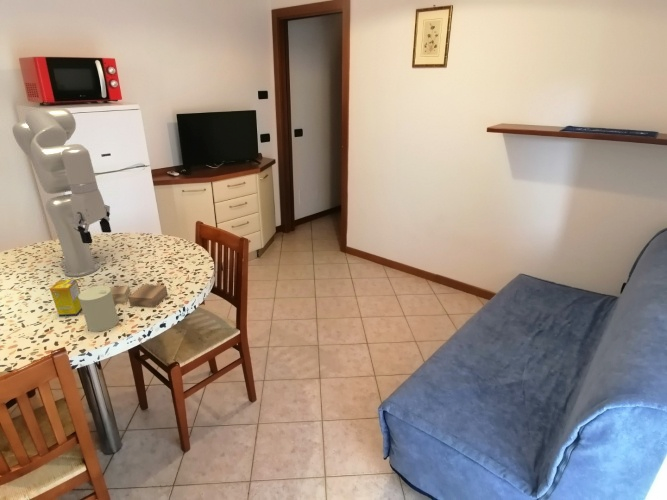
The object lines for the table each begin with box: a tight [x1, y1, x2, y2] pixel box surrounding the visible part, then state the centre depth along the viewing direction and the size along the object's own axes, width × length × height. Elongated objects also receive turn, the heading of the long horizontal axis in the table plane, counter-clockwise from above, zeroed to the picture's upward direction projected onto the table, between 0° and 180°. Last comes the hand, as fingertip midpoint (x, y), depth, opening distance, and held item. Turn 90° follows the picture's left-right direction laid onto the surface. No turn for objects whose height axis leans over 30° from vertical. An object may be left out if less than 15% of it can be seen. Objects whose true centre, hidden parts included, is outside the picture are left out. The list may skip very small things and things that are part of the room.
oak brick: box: [110, 284, 132, 305], centre depth 146 cm, size 6×6×4 cm
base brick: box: [128, 284, 168, 309], centre depth 145 cm, size 9×9×4 cm
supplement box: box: [49, 278, 83, 318], centre depth 137 cm, size 6×6×11 cm
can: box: [78, 285, 120, 333], centre depth 130 cm, size 9×9×12 cm
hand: (97, 237), depth 137 cm, fingers open, 9 cm apart
